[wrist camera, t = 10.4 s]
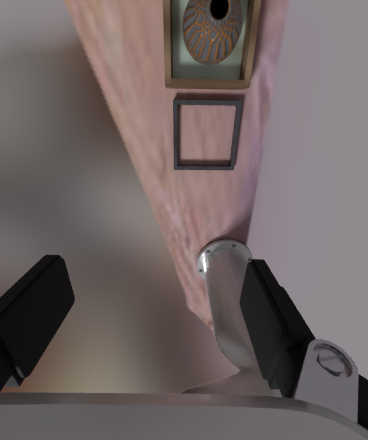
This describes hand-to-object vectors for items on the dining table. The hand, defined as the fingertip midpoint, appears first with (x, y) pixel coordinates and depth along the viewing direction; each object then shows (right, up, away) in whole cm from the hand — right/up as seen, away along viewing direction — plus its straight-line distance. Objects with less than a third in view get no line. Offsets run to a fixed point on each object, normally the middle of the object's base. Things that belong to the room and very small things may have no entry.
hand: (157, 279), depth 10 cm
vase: (+5, +28, +17) cm, 32 cm away
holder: (+5, +28, +17) cm, 33 cm away
